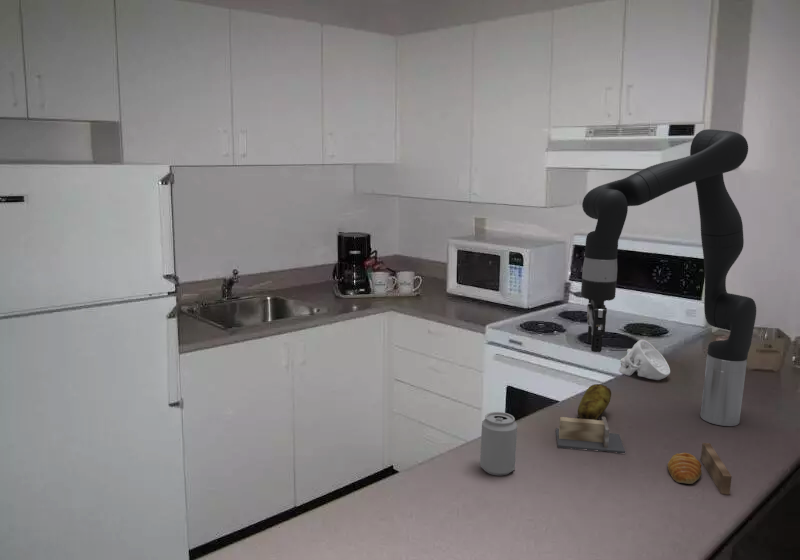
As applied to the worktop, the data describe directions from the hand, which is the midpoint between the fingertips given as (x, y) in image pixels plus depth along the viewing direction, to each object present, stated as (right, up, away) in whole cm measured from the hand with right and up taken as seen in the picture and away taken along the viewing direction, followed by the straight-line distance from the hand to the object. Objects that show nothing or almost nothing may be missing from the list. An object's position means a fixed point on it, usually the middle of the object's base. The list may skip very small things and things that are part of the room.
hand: (594, 346), depth 155 cm
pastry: (+16, -27, -11) cm, 33 cm away
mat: (0, -23, +4) cm, 24 cm away
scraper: (-2, -22, +5) cm, 23 cm away
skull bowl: (+31, -15, +53) cm, 63 cm away
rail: (+22, -27, -12) cm, 37 cm away
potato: (+5, -21, +19) cm, 29 cm away
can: (-24, -26, -11) cm, 37 cm away
